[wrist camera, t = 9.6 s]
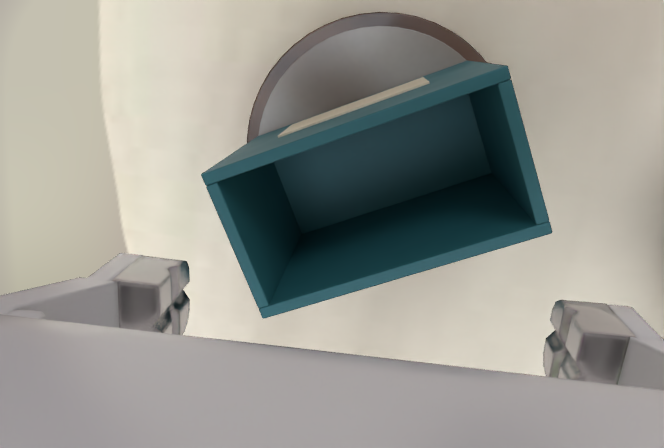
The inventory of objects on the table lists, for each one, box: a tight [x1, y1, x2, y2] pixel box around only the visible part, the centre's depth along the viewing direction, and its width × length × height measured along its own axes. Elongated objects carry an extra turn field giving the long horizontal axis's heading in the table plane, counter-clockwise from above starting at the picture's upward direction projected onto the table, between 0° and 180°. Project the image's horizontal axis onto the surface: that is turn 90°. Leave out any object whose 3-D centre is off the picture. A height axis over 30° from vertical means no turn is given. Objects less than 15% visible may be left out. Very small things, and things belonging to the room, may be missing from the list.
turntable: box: [247, 12, 487, 143], centre depth 32 cm, size 15×15×2 cm
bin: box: [201, 61, 552, 318], centre depth 26 cm, size 7×12×10 cm, turn 110°
